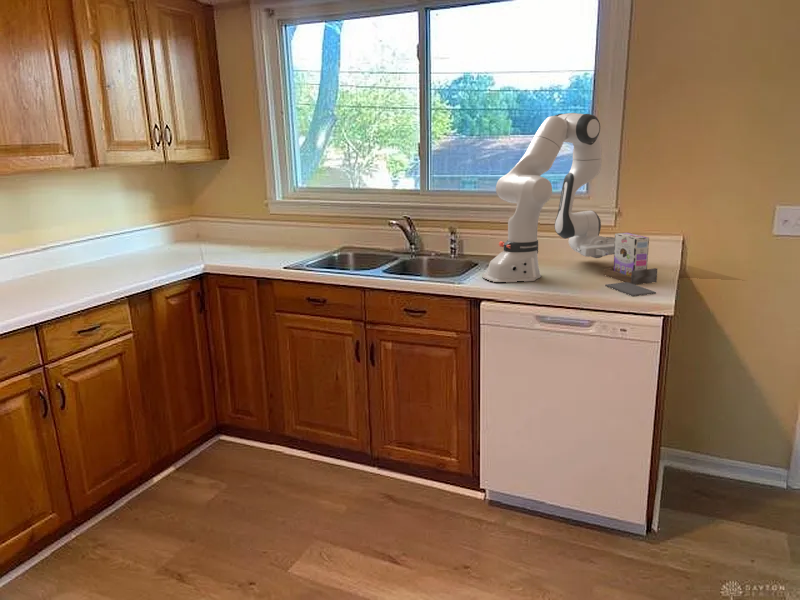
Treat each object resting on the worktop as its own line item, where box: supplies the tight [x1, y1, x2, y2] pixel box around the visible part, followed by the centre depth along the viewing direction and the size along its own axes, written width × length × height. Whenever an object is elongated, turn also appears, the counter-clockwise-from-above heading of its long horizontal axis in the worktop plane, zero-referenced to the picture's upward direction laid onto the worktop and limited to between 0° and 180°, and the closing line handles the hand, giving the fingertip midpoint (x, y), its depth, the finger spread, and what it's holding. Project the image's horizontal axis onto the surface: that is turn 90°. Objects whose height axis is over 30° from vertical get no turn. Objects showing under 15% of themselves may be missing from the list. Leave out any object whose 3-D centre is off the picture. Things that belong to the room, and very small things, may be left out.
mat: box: [605, 282, 657, 297], centre depth 216 cm, size 9×16×1 cm, turn 16°
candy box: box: [613, 232, 650, 276], centre depth 230 cm, size 14×6×16 cm, turn 12°
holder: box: [603, 267, 658, 285], centre depth 232 cm, size 10×18×5 cm, turn 16°
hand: (616, 252), depth 238 cm, fingers open, 8 cm apart
